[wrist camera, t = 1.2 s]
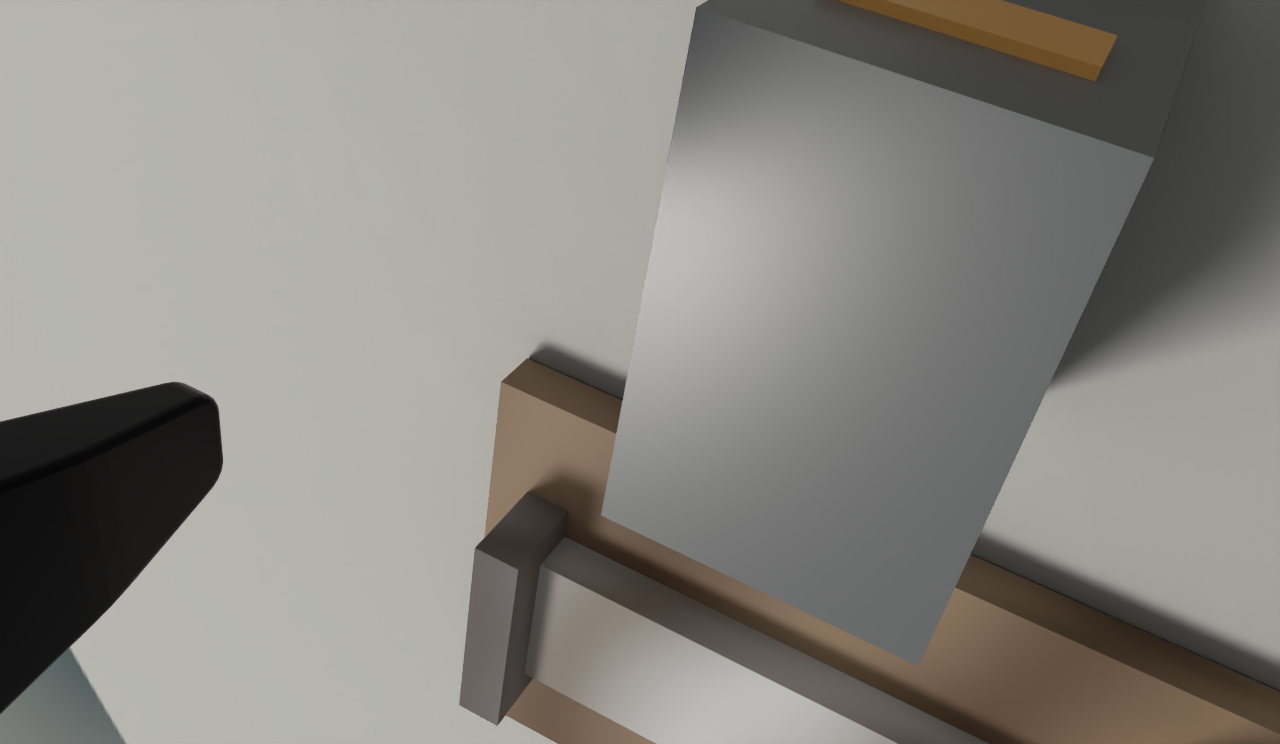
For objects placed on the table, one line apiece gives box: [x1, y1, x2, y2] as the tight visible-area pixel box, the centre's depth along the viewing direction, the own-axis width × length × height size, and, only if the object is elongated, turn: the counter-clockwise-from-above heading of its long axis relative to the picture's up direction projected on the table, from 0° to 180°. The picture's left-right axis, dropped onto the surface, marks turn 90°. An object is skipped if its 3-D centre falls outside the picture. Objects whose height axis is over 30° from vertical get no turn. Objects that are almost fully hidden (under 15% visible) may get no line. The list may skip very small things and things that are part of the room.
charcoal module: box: [601, 0, 1206, 666], centre depth 15 cm, size 4×7×7 cm, turn 172°
